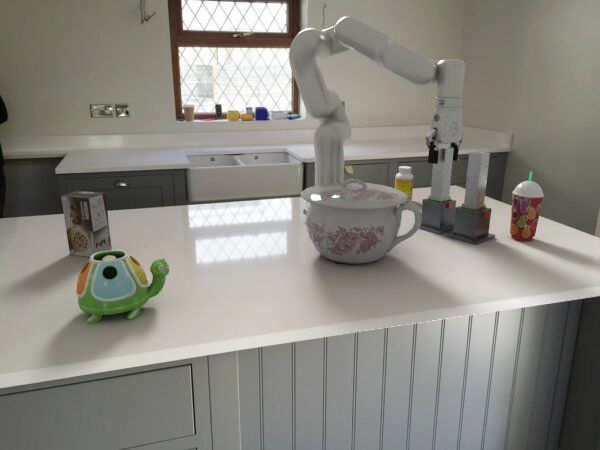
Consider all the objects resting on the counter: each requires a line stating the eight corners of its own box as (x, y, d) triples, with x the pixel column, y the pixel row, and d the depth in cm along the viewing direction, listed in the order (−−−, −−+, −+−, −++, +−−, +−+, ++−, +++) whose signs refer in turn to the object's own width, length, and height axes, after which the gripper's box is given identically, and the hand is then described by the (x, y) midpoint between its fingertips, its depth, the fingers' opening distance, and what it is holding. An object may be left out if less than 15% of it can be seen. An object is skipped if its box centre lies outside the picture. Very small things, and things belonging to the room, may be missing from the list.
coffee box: (113, 250, 135) (106, 192, 130) (96, 258, 129) (89, 198, 125) (85, 247, 138) (78, 189, 133) (68, 254, 132) (60, 195, 127)
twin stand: (475, 244, 142) (485, 156, 135) (445, 236, 149) (453, 152, 142) (494, 238, 148) (505, 153, 140) (465, 230, 155) (474, 149, 148)
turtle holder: (177, 312, 100) (173, 257, 97) (79, 330, 93) (71, 270, 90) (166, 289, 111) (163, 238, 108) (78, 303, 104) (71, 249, 101)
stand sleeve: (440, 234, 151) (443, 205, 148) (414, 226, 158) (416, 199, 156) (459, 228, 157) (462, 200, 154) (433, 221, 164) (436, 194, 162)
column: (440, 208, 152) (445, 149, 147) (427, 205, 156) (432, 147, 151) (450, 206, 155) (455, 147, 150) (437, 202, 159) (442, 146, 153)
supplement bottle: (411, 203, 188) (414, 169, 184) (393, 202, 189) (396, 168, 185) (411, 198, 194) (414, 166, 190) (394, 198, 195) (396, 165, 191)
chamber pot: (284, 245, 140) (284, 172, 134) (369, 234, 150) (372, 166, 144) (329, 282, 115) (331, 195, 109) (427, 266, 126) (434, 185, 120)
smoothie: (537, 236, 150) (547, 170, 144) (537, 244, 142) (547, 175, 136) (507, 232, 153) (515, 168, 147) (505, 240, 146) (514, 172, 140)
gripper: (440, 105, 139) (435, 166, 143) (476, 103, 149) (470, 160, 154) (418, 103, 144) (414, 162, 149) (454, 102, 154) (449, 157, 159)
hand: (442, 161), depth 151 cm, fingers open, 9 cm apart
